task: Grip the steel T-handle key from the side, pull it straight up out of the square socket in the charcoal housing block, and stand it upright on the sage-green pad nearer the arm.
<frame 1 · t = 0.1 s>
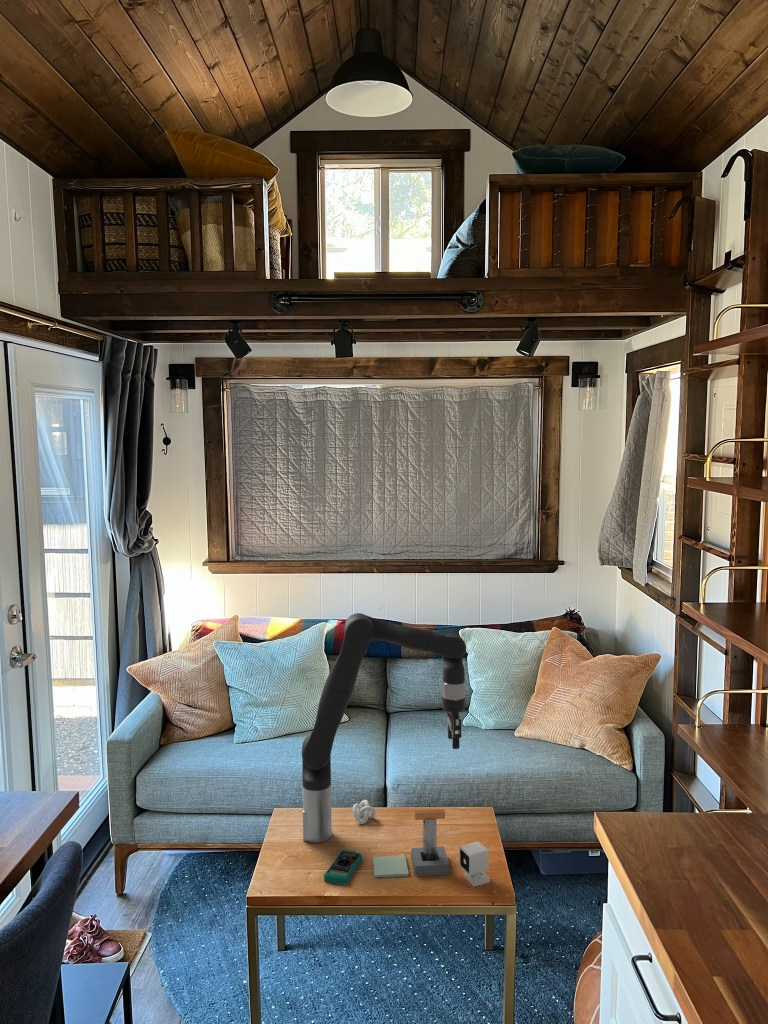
hand: (453, 743, 245), 29 cm above the table, tool pointing down, fingers open, 8 cm apart
knot: (362, 821, 254), on the table
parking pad: (390, 867, 225), on the table
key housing: (429, 865, 226), on the table
t key: (429, 838, 225), in the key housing
digital multimeter: (343, 872, 224), on the table
security camera: (475, 881, 218), on the table
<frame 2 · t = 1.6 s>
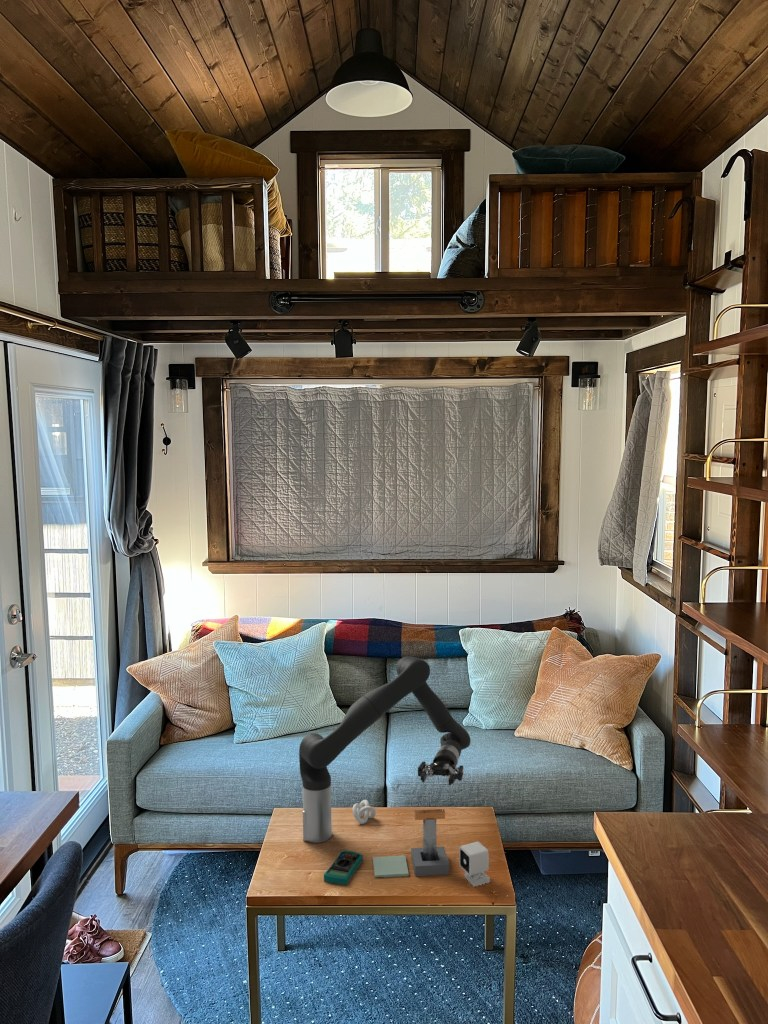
hand: (436, 780, 234), 22 cm above the table, tool horizontal, fingers open, 8 cm apart
nothing on the table moved.
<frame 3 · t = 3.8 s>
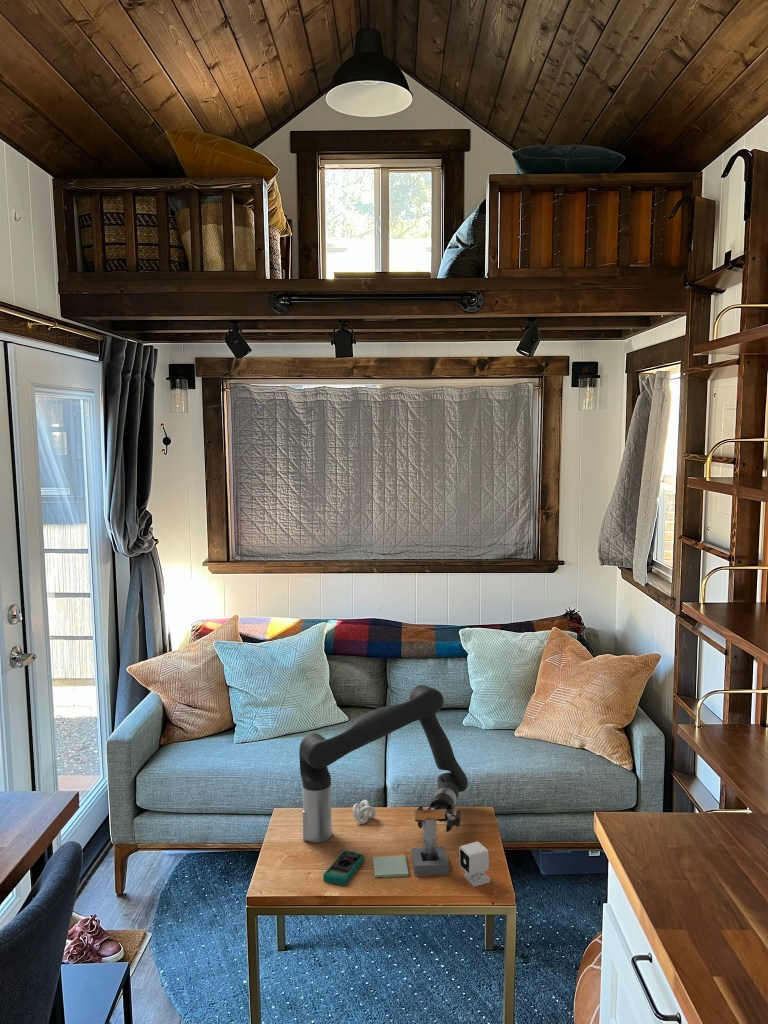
hand: (433, 827, 231), 9 cm above the table, tool horizontal, fingers open, 8 cm apart
nothing on the table moved.
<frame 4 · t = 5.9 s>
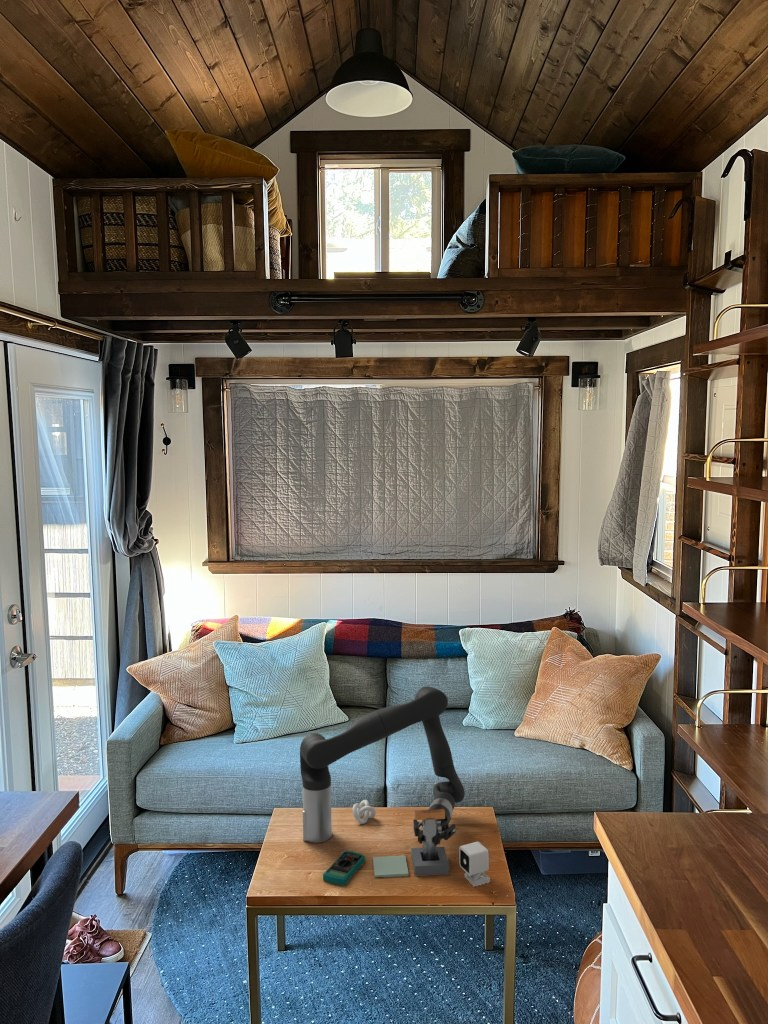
hand: (427, 841, 223), 9 cm above the table, tool horizontal, fingers closed on t key, 4 cm apart
t key: (429, 838, 225), in the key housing, touching gripper
everything else where it was.
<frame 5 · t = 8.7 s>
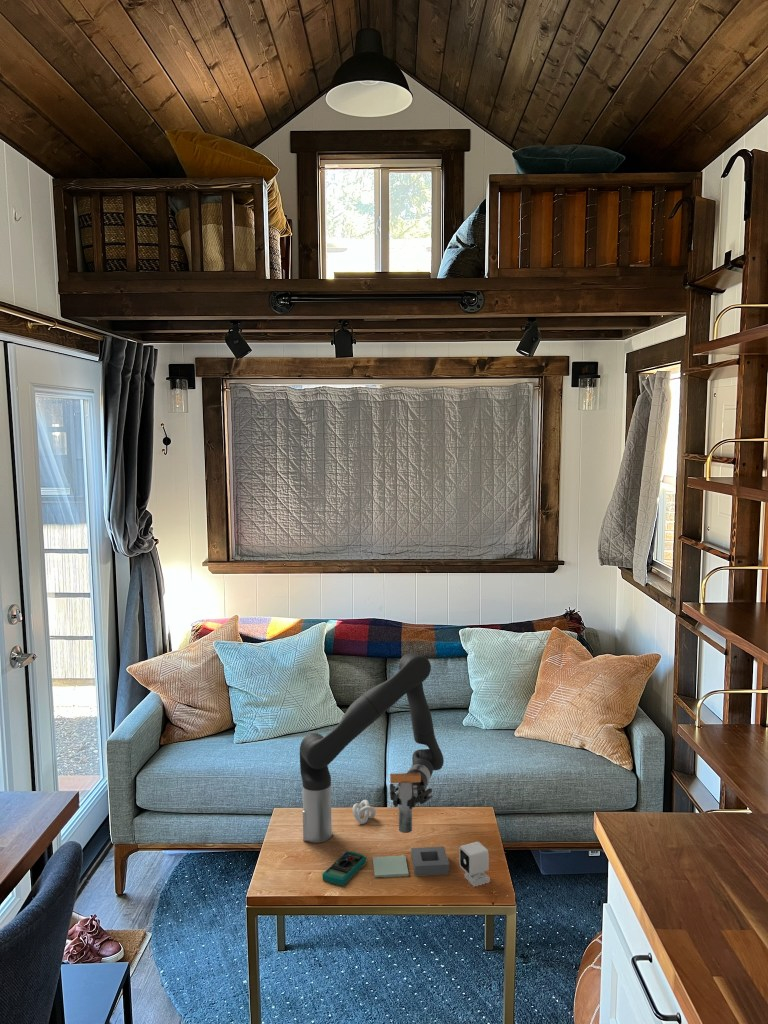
hand: (403, 804, 221), 21 cm above the table, tool horizontal, fingers closed on t key, 4 cm apart
t key: (405, 802, 224), point 20 cm above the table, touching gripper
everything else where it was.
when the fingers open (11 cm above the table, at t = 11.3 s): t key stays where it is, resting on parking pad.
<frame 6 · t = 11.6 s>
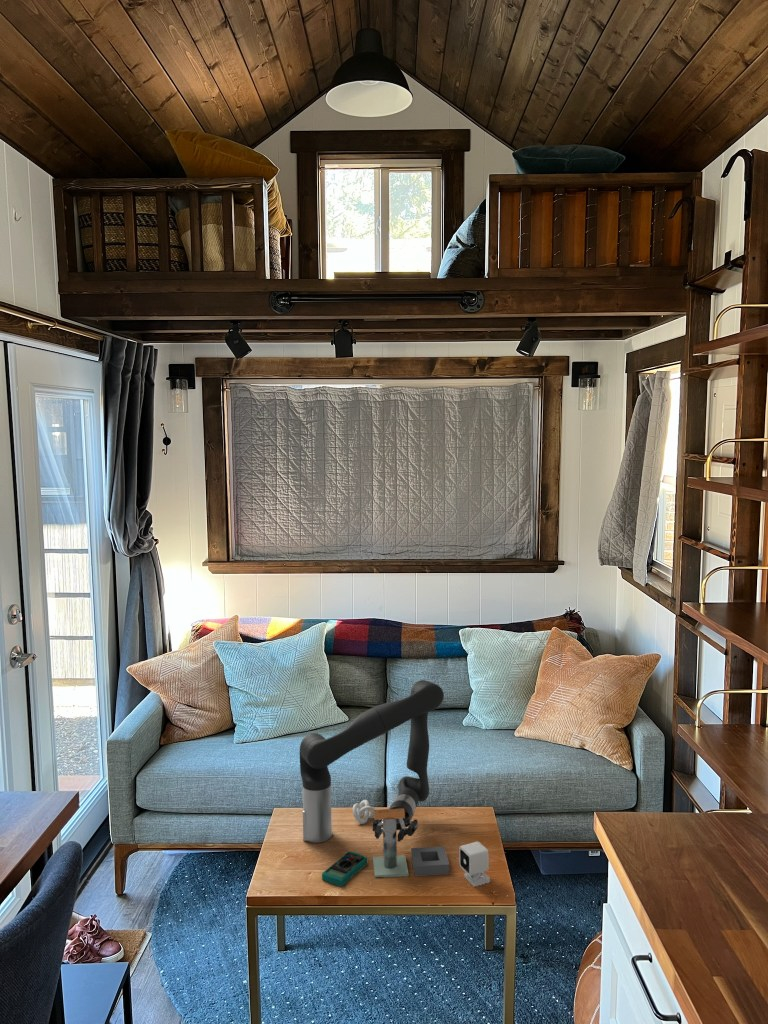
hand: (387, 837, 222), 11 cm above the table, tool horizontal, fingers open, 6 cm apart
t key: (389, 837, 224), on the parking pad, point 9 cm above the table
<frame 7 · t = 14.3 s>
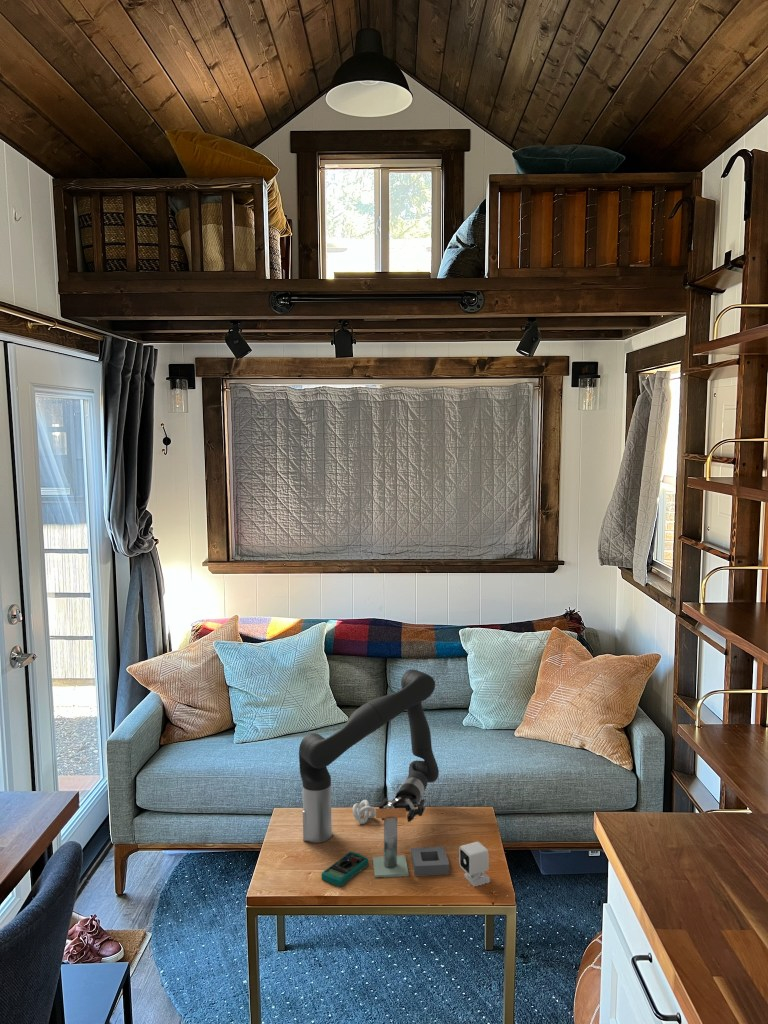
hand: (395, 818, 233), 11 cm above the table, tool horizontal, fingers open, 8 cm apart
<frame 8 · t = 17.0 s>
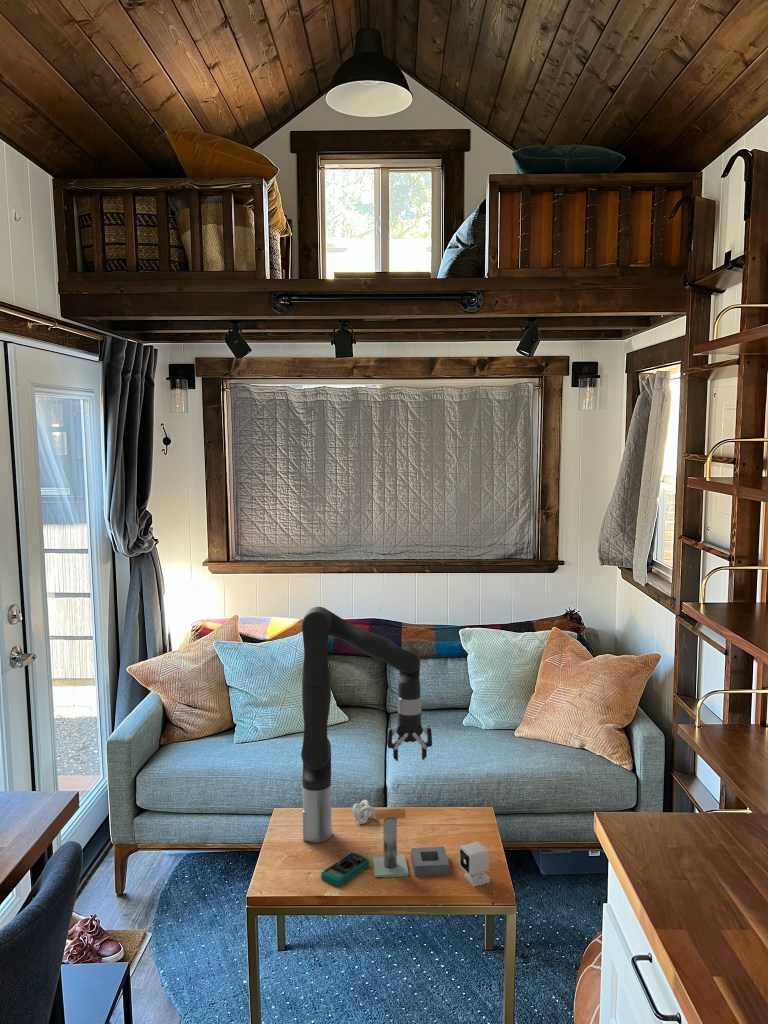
hand: (409, 759, 241), 26 cm above the table, tool pointing down, fingers open, 8 cm apart
at the end: t key 0.1 cm off-centre on the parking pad, point 9.3 cm above the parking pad's base; t key tilted 1°; the gripper is holding nothing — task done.
